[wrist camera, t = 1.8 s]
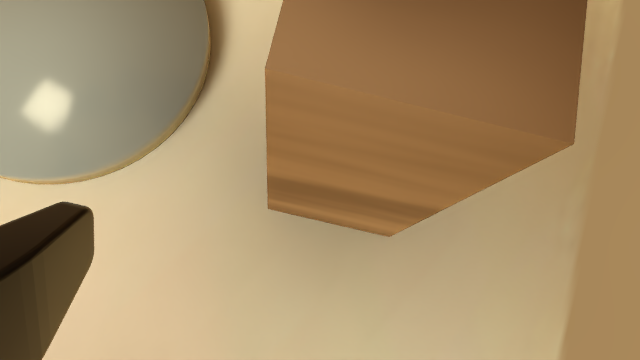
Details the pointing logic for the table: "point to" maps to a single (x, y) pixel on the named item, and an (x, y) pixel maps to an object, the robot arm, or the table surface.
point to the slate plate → (95, 83)
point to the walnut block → (414, 103)
